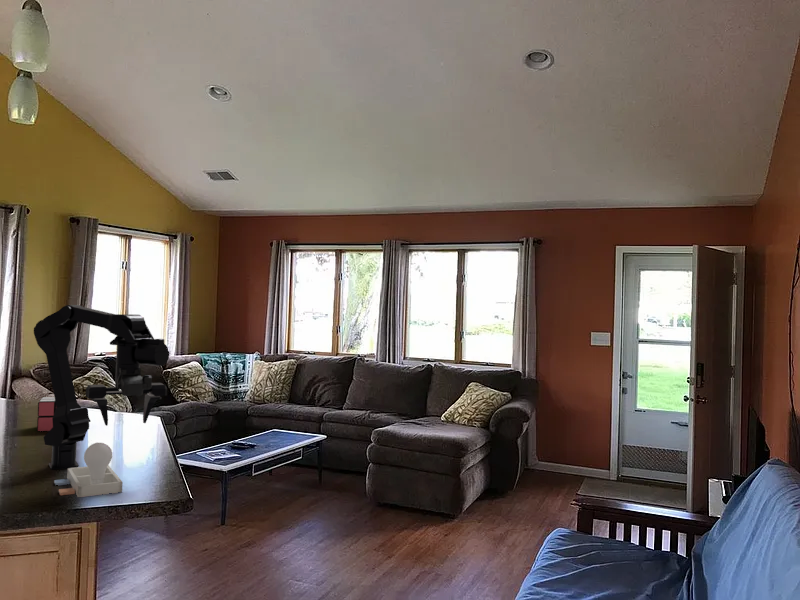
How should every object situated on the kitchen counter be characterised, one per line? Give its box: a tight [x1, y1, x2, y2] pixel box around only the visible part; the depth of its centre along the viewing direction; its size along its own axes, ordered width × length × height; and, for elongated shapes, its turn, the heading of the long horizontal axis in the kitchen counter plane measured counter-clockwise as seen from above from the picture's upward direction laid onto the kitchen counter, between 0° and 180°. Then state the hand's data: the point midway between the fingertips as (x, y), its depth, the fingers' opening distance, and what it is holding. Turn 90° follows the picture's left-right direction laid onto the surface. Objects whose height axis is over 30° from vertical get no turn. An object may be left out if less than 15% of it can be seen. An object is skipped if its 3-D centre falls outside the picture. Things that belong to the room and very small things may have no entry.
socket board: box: [53, 464, 123, 498], centre depth 159 cm, size 18×13×2 cm
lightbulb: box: [83, 442, 113, 485], centre depth 157 cm, size 6×6×11 cm
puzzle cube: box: [36, 396, 56, 433], centre depth 223 cm, size 10×10×10 cm
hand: (125, 424), depth 170 cm, fingers open, 9 cm apart
